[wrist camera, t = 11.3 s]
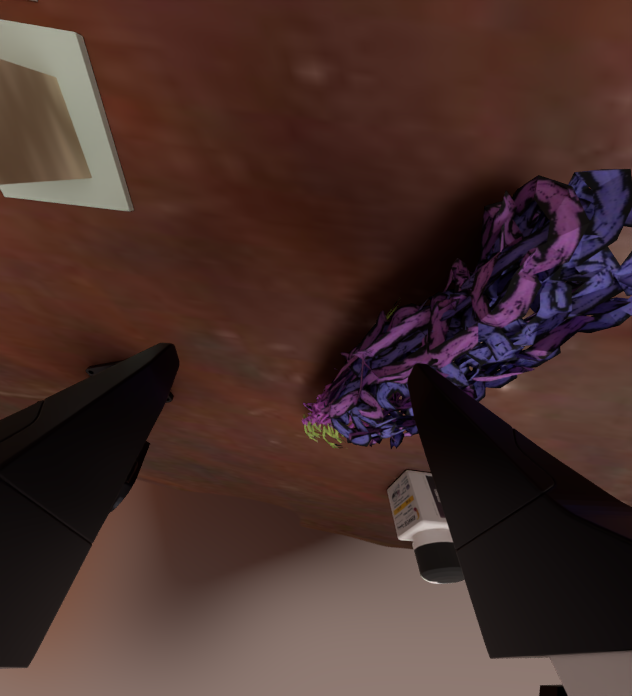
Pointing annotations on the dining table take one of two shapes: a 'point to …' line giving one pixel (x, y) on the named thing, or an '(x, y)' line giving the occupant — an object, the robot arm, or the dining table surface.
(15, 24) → the felt pad
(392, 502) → the container
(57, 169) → the pillar
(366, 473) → the dining table surface
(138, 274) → the dining table surface
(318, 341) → the dining table surface
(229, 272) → the dining table surface
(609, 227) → the decorative ornament
